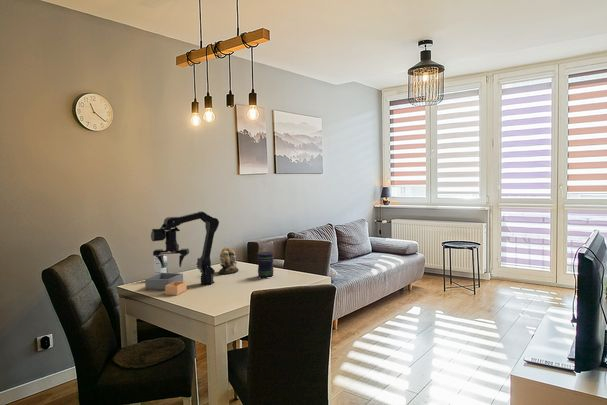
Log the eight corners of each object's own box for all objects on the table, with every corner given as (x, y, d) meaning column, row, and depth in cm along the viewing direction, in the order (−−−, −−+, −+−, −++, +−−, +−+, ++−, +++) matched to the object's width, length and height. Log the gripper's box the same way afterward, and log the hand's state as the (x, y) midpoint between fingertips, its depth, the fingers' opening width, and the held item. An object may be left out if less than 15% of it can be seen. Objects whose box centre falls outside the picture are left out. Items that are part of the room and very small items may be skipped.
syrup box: (160, 280, 253) (160, 257, 252) (154, 279, 256) (153, 256, 255) (168, 278, 258) (167, 256, 257) (161, 277, 261) (161, 255, 260)
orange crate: (186, 290, 228) (186, 281, 228) (177, 295, 218) (177, 286, 218) (175, 290, 230) (174, 281, 229) (165, 294, 220) (165, 285, 220)
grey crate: (183, 283, 245) (182, 273, 245) (168, 290, 229) (168, 279, 229) (161, 282, 248) (161, 272, 248) (145, 289, 232) (145, 278, 232)
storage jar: (276, 276, 259) (276, 253, 258) (262, 279, 253) (262, 255, 252) (268, 274, 267) (268, 251, 266) (255, 276, 261) (254, 253, 261)
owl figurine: (230, 275, 265) (230, 249, 264) (214, 274, 268) (213, 248, 267) (241, 269, 282) (241, 245, 281) (226, 269, 285) (225, 244, 284)
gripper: (191, 237, 238) (191, 264, 239) (158, 238, 237) (159, 264, 238) (186, 240, 227) (187, 268, 228) (152, 240, 226) (153, 268, 227)
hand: (171, 267), depth 230 cm, fingers open, 9 cm apart
